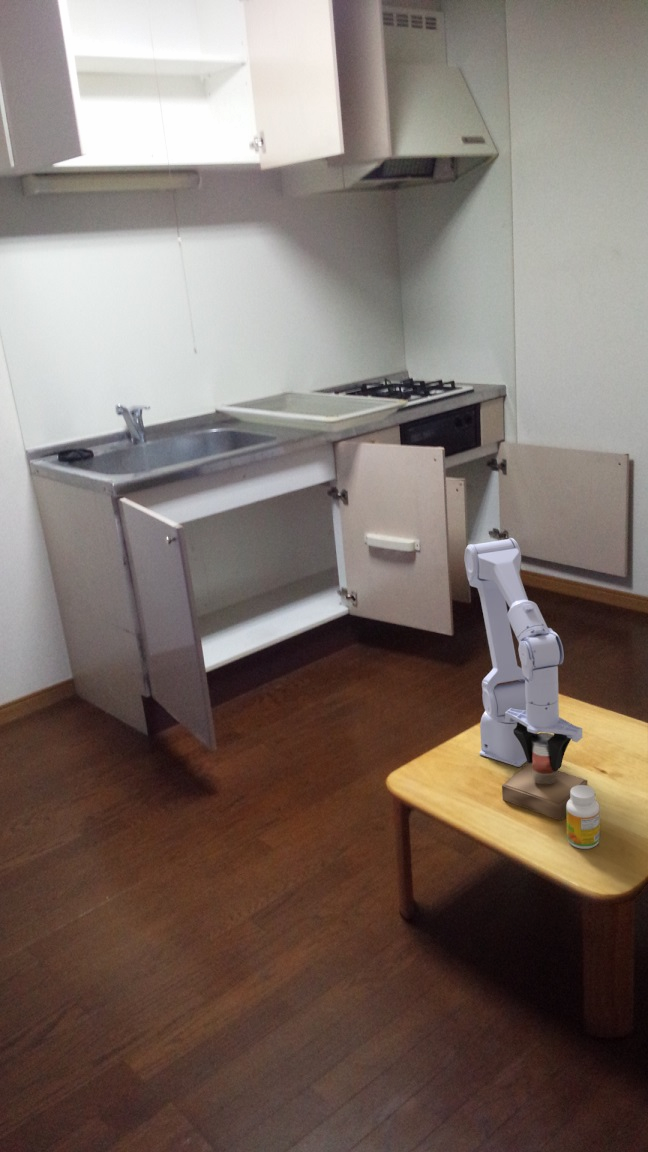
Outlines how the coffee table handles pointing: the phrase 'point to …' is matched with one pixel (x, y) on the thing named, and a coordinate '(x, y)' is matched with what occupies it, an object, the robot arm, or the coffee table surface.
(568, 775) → the brown rectangular block
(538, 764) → the tin can
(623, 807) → the coffee table surface
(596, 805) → the supplement bottle
